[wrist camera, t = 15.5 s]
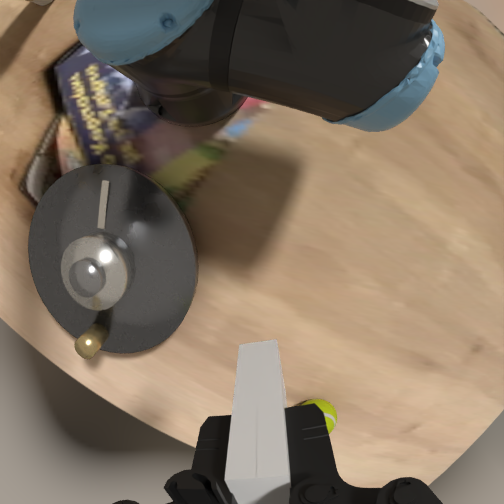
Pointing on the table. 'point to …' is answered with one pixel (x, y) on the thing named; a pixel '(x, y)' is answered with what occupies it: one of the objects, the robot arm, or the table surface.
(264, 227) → the table surface
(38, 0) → the coffee cup
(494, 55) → the table surface
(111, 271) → the cover
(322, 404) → the tennis ball
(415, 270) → the table surface
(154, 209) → the turntable
